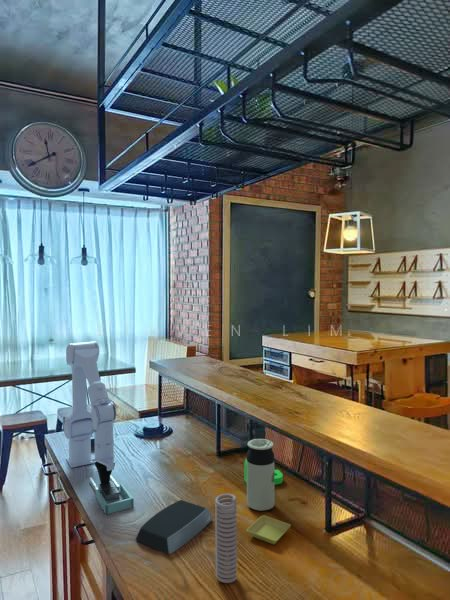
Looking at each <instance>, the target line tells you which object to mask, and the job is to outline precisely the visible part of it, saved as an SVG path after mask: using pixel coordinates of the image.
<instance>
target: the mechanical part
mask: <svg viewBox="0 0 450 600" xmlns="http://www.w3.org/2000/svg"><path fill="white" fill-rule="evenodd" d="M243 466H244V467H243V469H244V471H243V473H244V474H243V477H244V479H243V481H244V482H245V483H246V484H247V457H246V458H245V460H244V464H243ZM283 477H284V474H283V472H281V471H280V470H279V469H274V486H276V485H280V484H282V483H283Z"/></svg>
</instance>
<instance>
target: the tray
mask: <svg viewBox="0 0 450 600" xmlns="http://www.w3.org/2000/svg"><path fill="white" fill-rule="evenodd" d="M119 486H120V491H119V494H121V495H122V497H123V498H124V499H122V500H117V501H114V502H109V503H107V502H106V501H105V499H104V498H103V496H102V494H101V493H100V491H99V490H96V492H95V498H97V499H96V500H97V502H98V504H99V506H100V505H101V506H100V507H101V509H102V511H103V510H104V511H103V512H104V514H105V515H109V514H113V513H115V512H121V511H123V510H127V509H128V510H129V509H131V508H133V507H134V506H135V505H134V504H135V503H134V497H133V495H132V494H131V493H130V492H129V491H128V489H127V488H126V487H125V485H124V484H123V483H120V484H119Z"/></svg>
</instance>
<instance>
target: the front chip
mask: <svg viewBox="0 0 450 600" xmlns="http://www.w3.org/2000/svg"><path fill="white" fill-rule="evenodd" d="M102 496H103V498H104V499H105V501H106V502H107V501H108V502H111V501H114V500H119V499H120V491H118V490H117V488H116V487H113V488H109V489H105V490H102Z"/></svg>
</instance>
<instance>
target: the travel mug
mask: <svg viewBox="0 0 450 600" xmlns="http://www.w3.org/2000/svg"><path fill="white" fill-rule="evenodd" d="M247 446H248V450H247V452H246V458H247V483H246V505H247V506H248V507H249V508H251V509H253V510H255V511H262V512H263V511H267V510H271V509H273V508H274V506H275V485H274V470H275V453H274V451H273V447H274V442H273V441H271V440H269V439H265V438H254V439H251V440H249V441H248V442H247Z"/></svg>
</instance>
